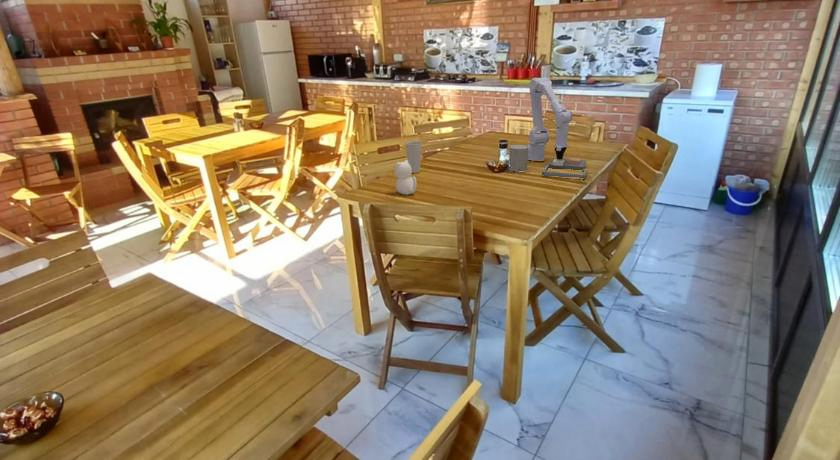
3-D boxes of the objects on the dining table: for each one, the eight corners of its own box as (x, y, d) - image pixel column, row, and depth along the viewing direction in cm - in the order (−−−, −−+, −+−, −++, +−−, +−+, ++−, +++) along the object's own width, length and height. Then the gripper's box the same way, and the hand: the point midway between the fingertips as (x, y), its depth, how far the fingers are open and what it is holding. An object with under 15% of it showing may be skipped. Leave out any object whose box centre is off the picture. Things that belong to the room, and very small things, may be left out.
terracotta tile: (568, 163, 233) (569, 160, 232) (570, 161, 237) (570, 157, 236) (578, 164, 231) (579, 160, 230) (580, 162, 235) (580, 158, 234)
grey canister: (506, 171, 235) (507, 148, 230) (511, 166, 243) (512, 144, 238) (524, 173, 231) (525, 149, 226) (529, 168, 238) (530, 145, 233)
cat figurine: (404, 188, 215) (402, 157, 209) (423, 193, 207) (422, 161, 201) (391, 193, 209) (388, 161, 203) (410, 198, 201) (408, 165, 195)
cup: (420, 174, 235) (419, 144, 229) (404, 173, 237) (403, 144, 230) (423, 169, 242) (422, 140, 236) (408, 169, 244) (407, 140, 238)
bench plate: (548, 169, 235) (548, 164, 234) (552, 162, 247) (553, 157, 245) (582, 172, 228) (583, 166, 227) (585, 165, 240) (586, 160, 239)
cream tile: (552, 165, 232) (553, 161, 231) (554, 162, 236) (554, 158, 235) (562, 166, 230) (563, 162, 229) (564, 163, 234) (564, 159, 233)
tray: (541, 176, 225) (542, 171, 224) (546, 169, 235) (546, 164, 234) (583, 180, 217) (584, 175, 216) (586, 173, 228) (587, 168, 227)
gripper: (568, 138, 223) (565, 165, 228) (571, 133, 235) (569, 158, 240) (553, 138, 225) (551, 164, 231) (557, 132, 237) (555, 157, 243)
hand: (559, 161), depth 236 cm, fingers closed
